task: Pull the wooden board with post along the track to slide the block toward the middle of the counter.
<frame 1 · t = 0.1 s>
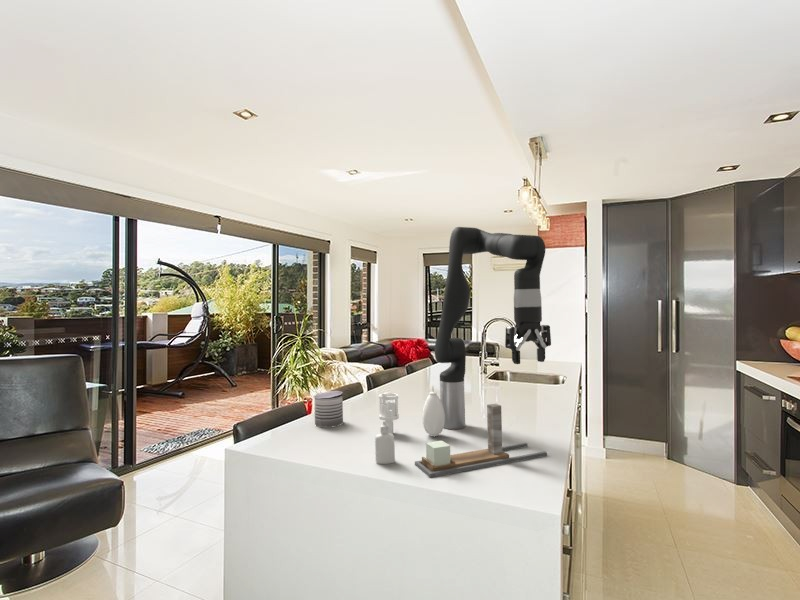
hand: (528, 362, 121), 29 cm above the table, tool pointing down, fingers open, 8 cm apart
strainer: (389, 433, 155), on the table
wooden board with post: (465, 435, 124), point 8 cm above the table, slide at 0.0 cm, touching block
track: (483, 459, 127), on the table
eye dropper bottle: (385, 462, 127), on the table
can: (328, 424, 170), on the table
block: (438, 462, 121), point 2 cm above the table, touching wooden board with post
sauce bottle: (433, 436, 150), on the table
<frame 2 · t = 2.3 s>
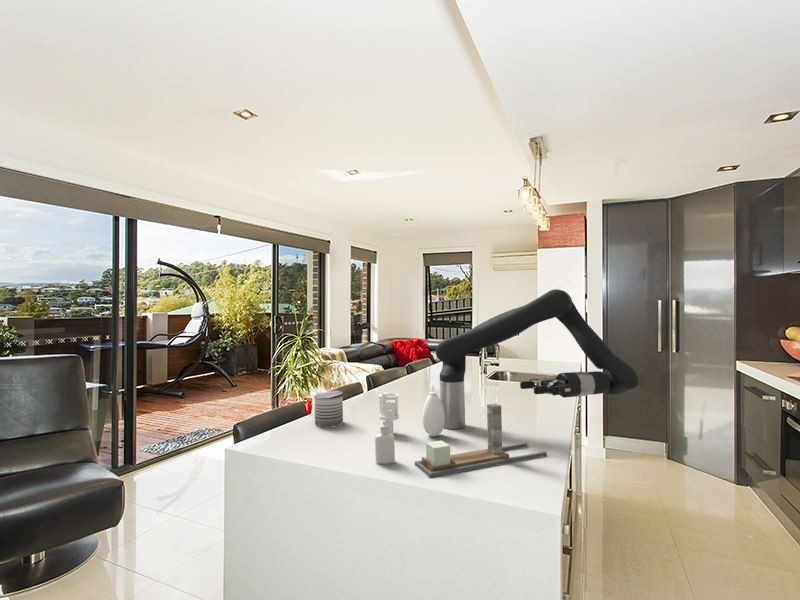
hand: (527, 387, 130), 20 cm above the table, tool horizontal, fingers open, 8 cm apart
nothing on the table moved.
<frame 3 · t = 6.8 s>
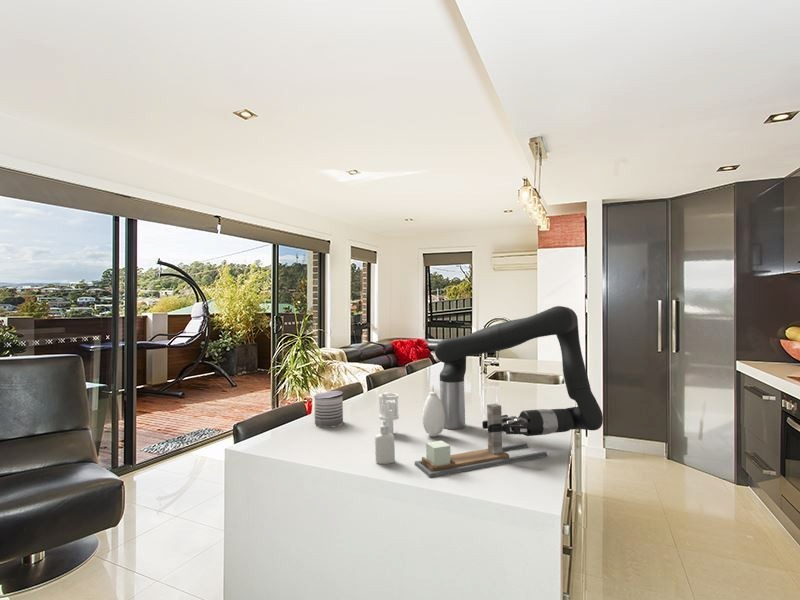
hand: (485, 426, 128), 9 cm above the table, tool horizontal, fingers closed on wooden board with post, 3 cm apart
wooden board with post: (465, 435, 124), point 8 cm above the table, slide at 0.0 cm, touching block, gripper
everything else where it was.
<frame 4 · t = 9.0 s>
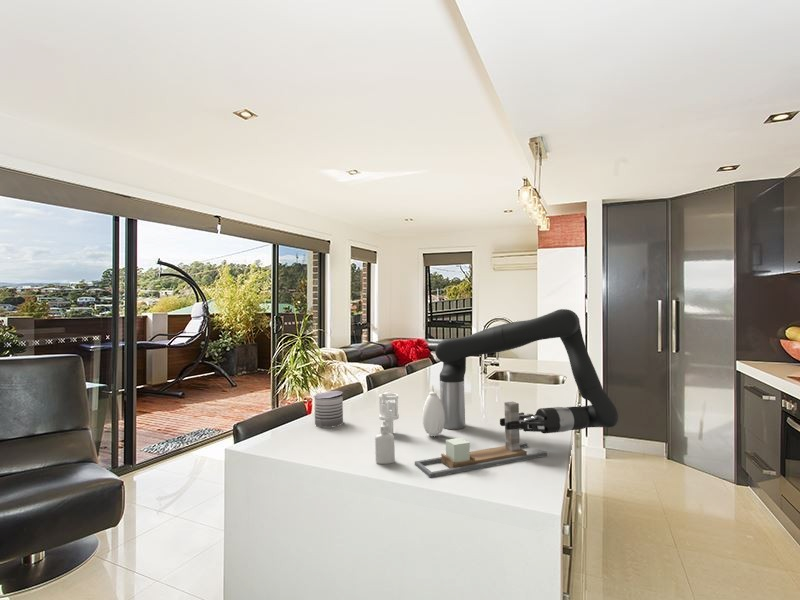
hand: (503, 424, 130), 10 cm above the table, tool horizontal, fingers closed on wooden board with post, 3 cm apart
wooden board with post: (484, 432, 127), point 8 cm above the table, slide at 6.3 cm, touching block, gripper
block: (457, 458, 123), point 2 cm above the table, touching wooden board with post
everything else where it was.
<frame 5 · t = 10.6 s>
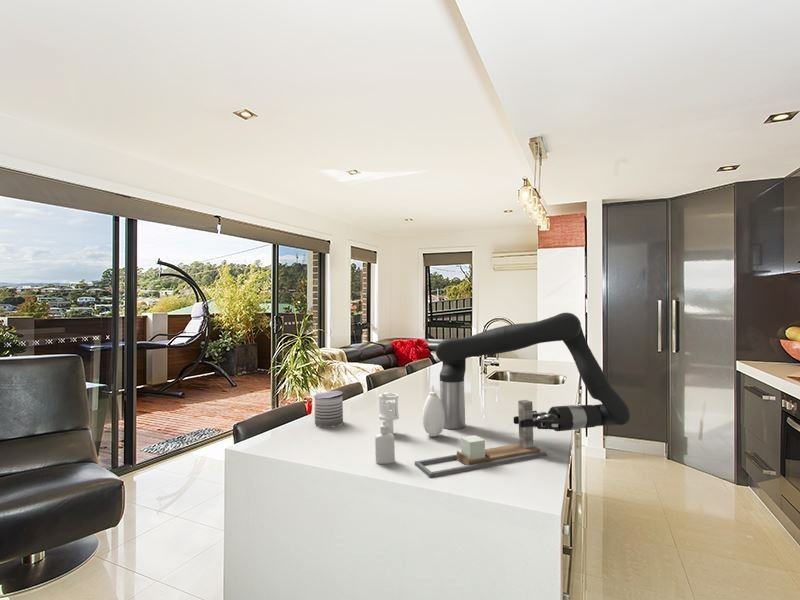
hand: (517, 422, 132), 10 cm above the table, tool horizontal, fingers closed on wooden board with post, 3 cm apart
wooden board with post: (498, 430, 129), point 8 cm above the table, slide at 11.4 cm, touching block, gripper
block: (473, 455, 125), point 2 cm above the table, touching wooden board with post
everything else where it was.
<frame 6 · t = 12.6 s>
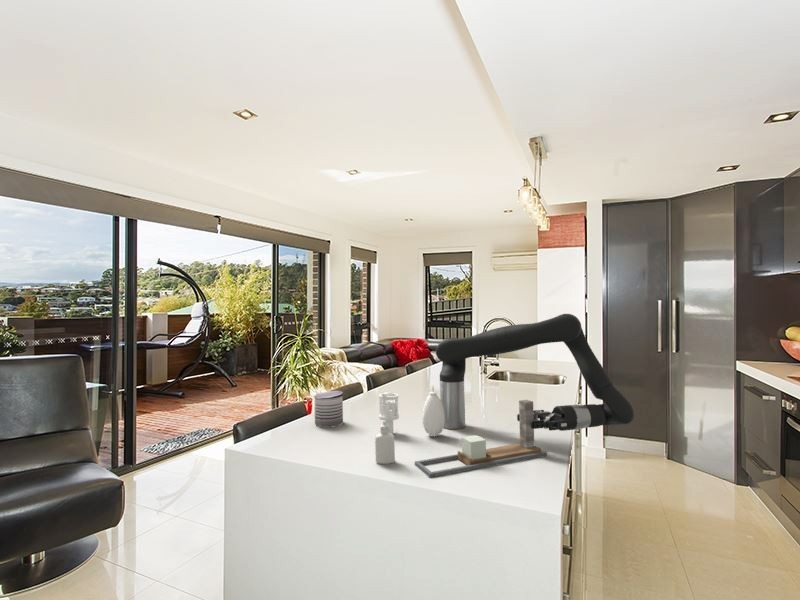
hand: (524, 421, 132), 10 cm above the table, tool horizontal, fingers open, 8 cm apart
wooden board with post: (499, 430, 129), point 8 cm above the table, slide at 11.7 cm, touching block
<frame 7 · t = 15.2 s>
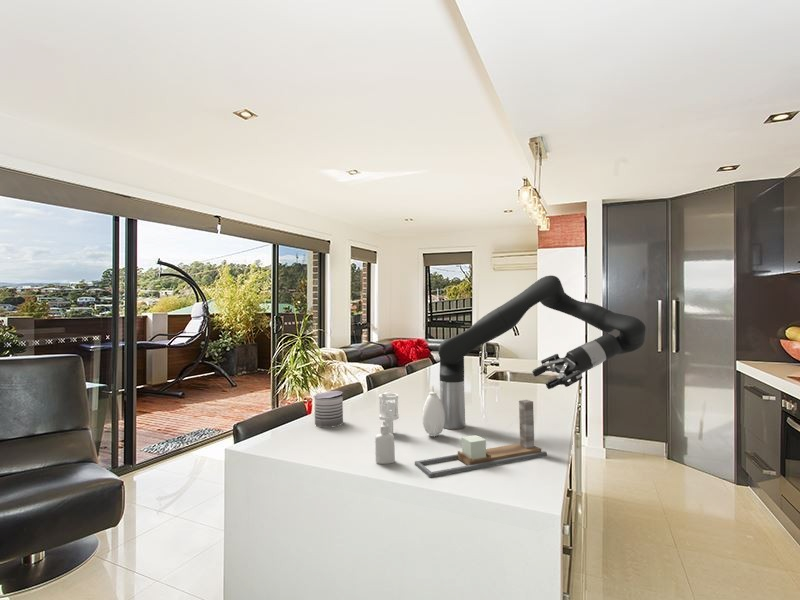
hand: (539, 379, 133), 22 cm above the table, tool tilted 65°, fingers open, 8 cm apart
nothing on the table moved.
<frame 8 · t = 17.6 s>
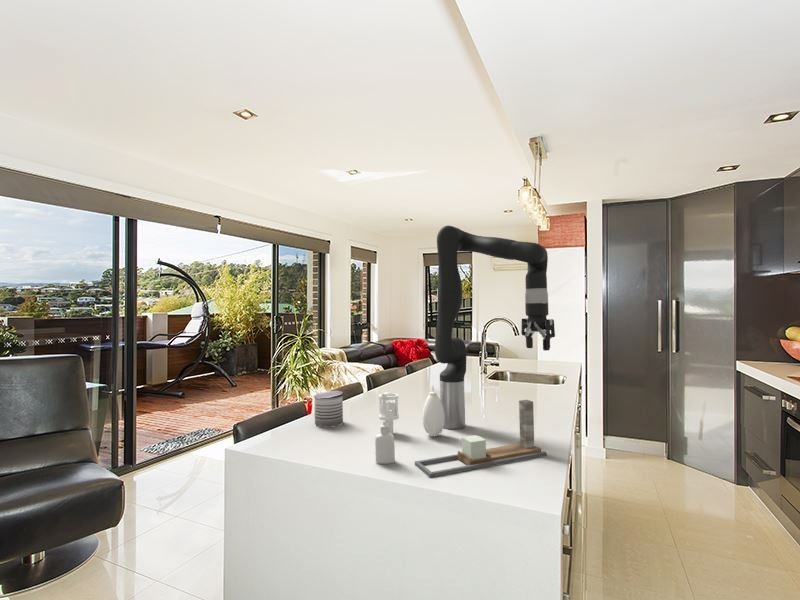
hand: (537, 349, 147), 30 cm above the table, tool pointing down, fingers open, 8 cm apart
nothing on the table moved.
at the end: wooden board with post slide at 11.7 cm; block inside the target area (0.2 cm from its centre), point 1.7 cm above the table; block tilted 0° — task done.
